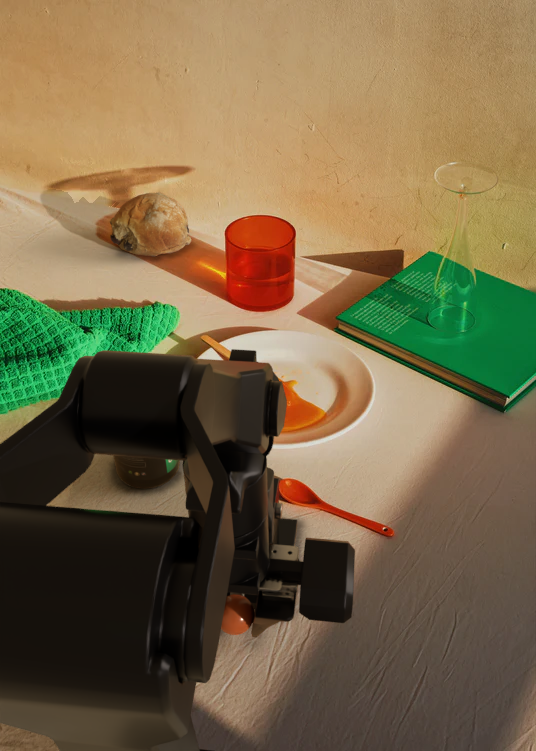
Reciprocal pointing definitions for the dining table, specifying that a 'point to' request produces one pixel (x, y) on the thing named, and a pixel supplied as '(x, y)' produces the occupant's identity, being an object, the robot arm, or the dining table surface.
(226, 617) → the lever
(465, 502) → the dining table surface
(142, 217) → the bread roll
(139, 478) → the supplement bottle
